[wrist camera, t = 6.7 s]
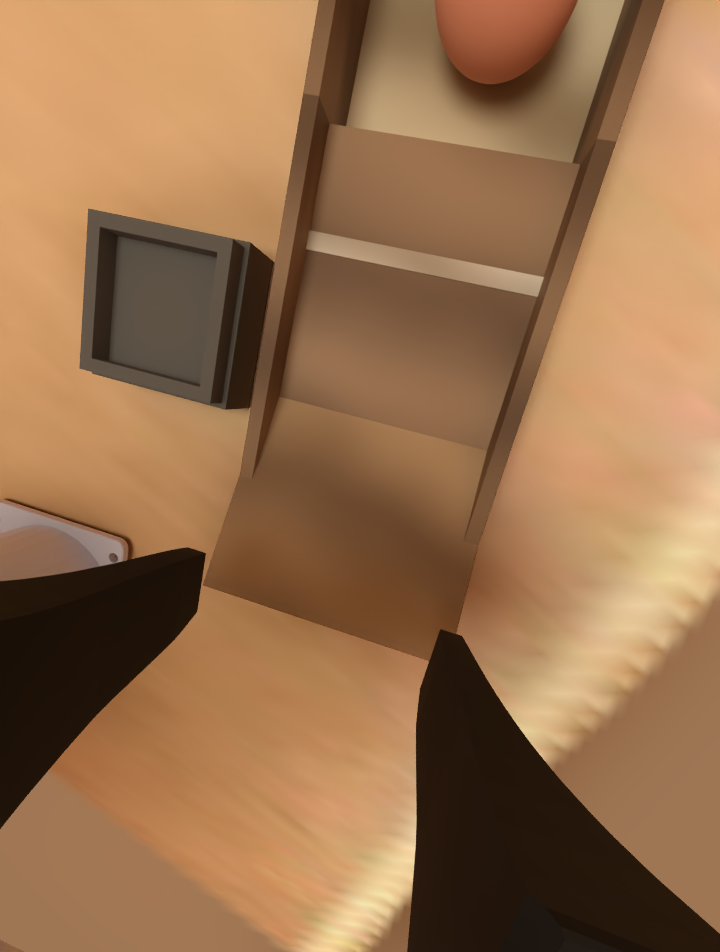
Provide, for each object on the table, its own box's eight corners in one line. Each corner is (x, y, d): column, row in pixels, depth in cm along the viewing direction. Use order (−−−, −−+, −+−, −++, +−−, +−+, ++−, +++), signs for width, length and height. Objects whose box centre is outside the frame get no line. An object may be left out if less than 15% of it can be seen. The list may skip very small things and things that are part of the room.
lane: (441, 605, 17) (444, 675, 13) (256, 546, 18) (201, 593, 14) (661, -64, 12) (800, -340, 7) (374, -89, 13) (344, -341, 8)
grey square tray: (248, 407, 17) (214, 410, 14) (129, 376, 18) (74, 372, 15) (273, 261, 15) (239, 233, 13) (141, 233, 16) (83, 201, 14)
